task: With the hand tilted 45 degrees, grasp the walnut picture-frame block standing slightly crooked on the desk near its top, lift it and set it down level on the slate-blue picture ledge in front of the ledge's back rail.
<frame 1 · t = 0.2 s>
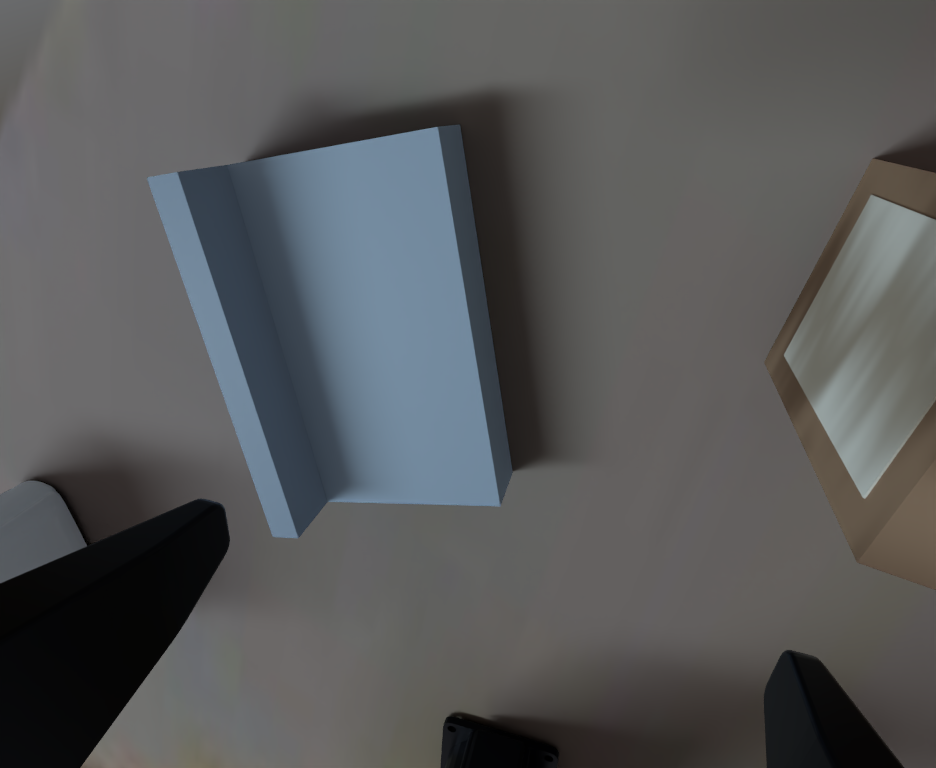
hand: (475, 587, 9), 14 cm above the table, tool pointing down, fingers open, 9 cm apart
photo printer: (73, 545, 37), on the table
picture shelf: (384, 326, 24), on the table
frame block: (876, 287, 19), on the table
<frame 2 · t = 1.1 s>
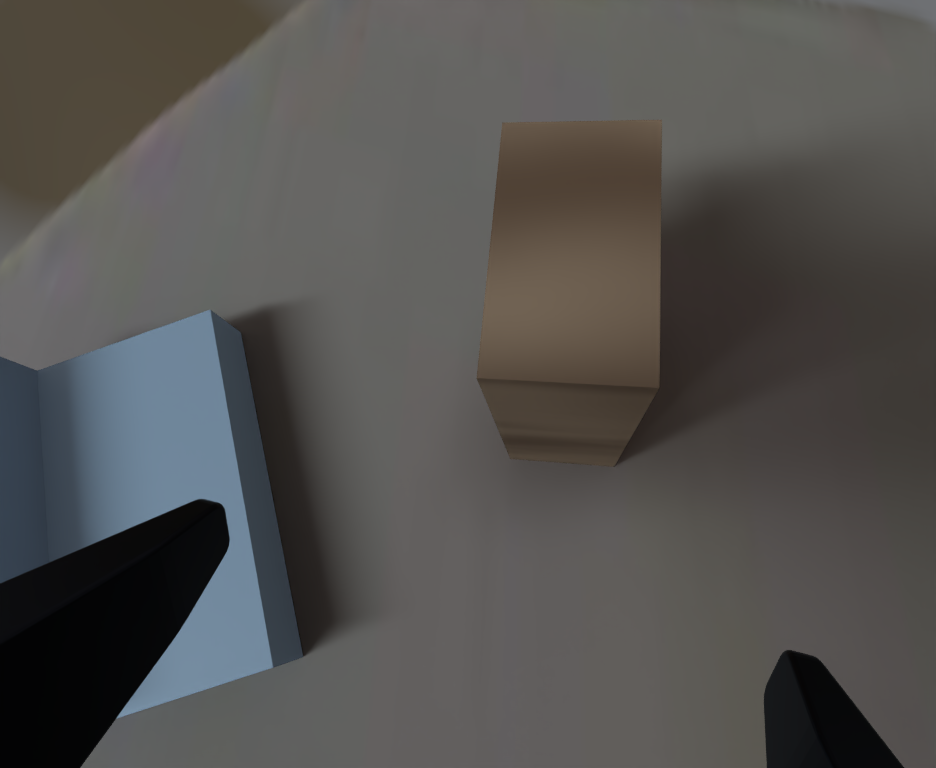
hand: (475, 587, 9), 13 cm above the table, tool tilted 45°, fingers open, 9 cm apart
picture shelf: (168, 513, 25), on the table
frame block: (566, 377, 24), on the table
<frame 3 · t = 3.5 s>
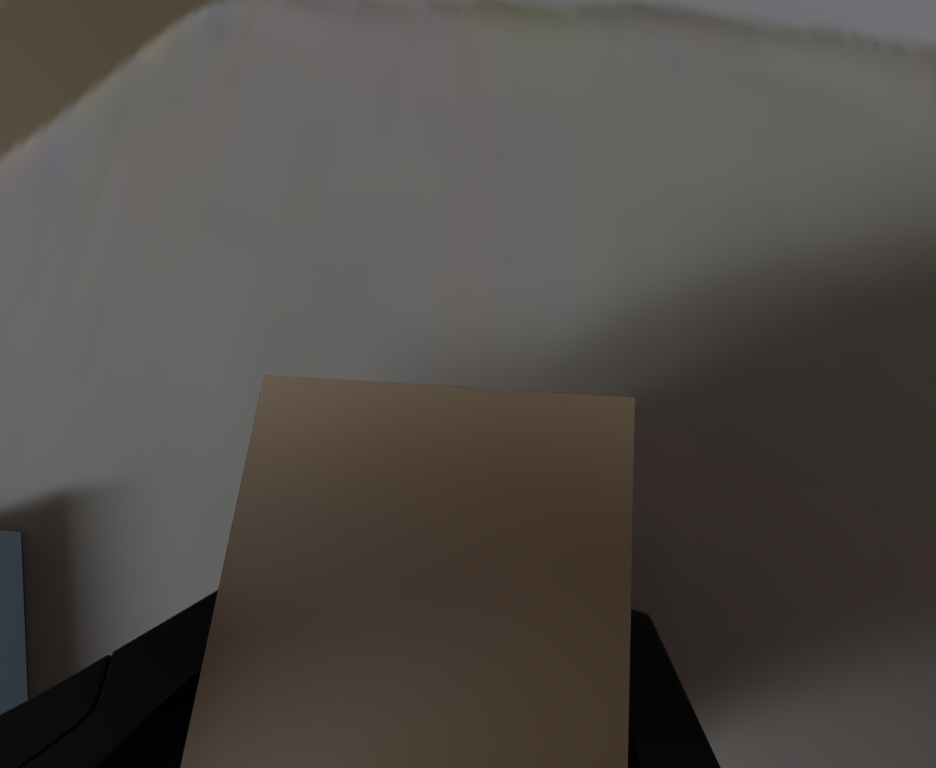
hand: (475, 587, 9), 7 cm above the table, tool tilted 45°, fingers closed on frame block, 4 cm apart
frame block: (495, 637, 15), on the table, touching gripper
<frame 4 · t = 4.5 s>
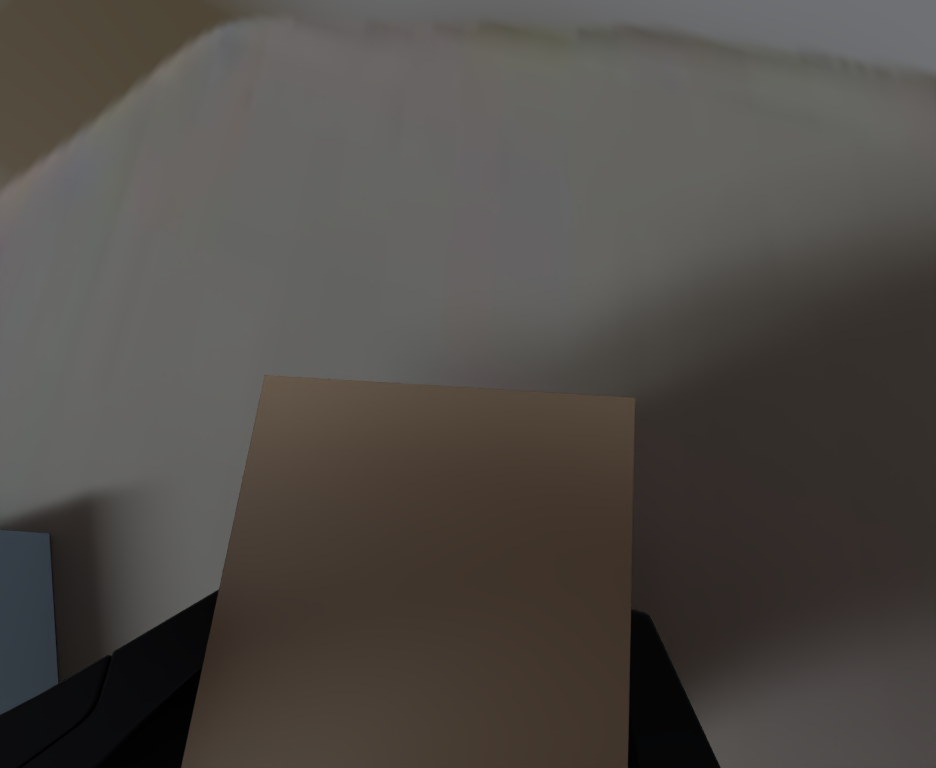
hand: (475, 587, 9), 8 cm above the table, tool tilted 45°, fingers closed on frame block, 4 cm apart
frame block: (495, 637, 15), point 1 cm above the table, touching gripper
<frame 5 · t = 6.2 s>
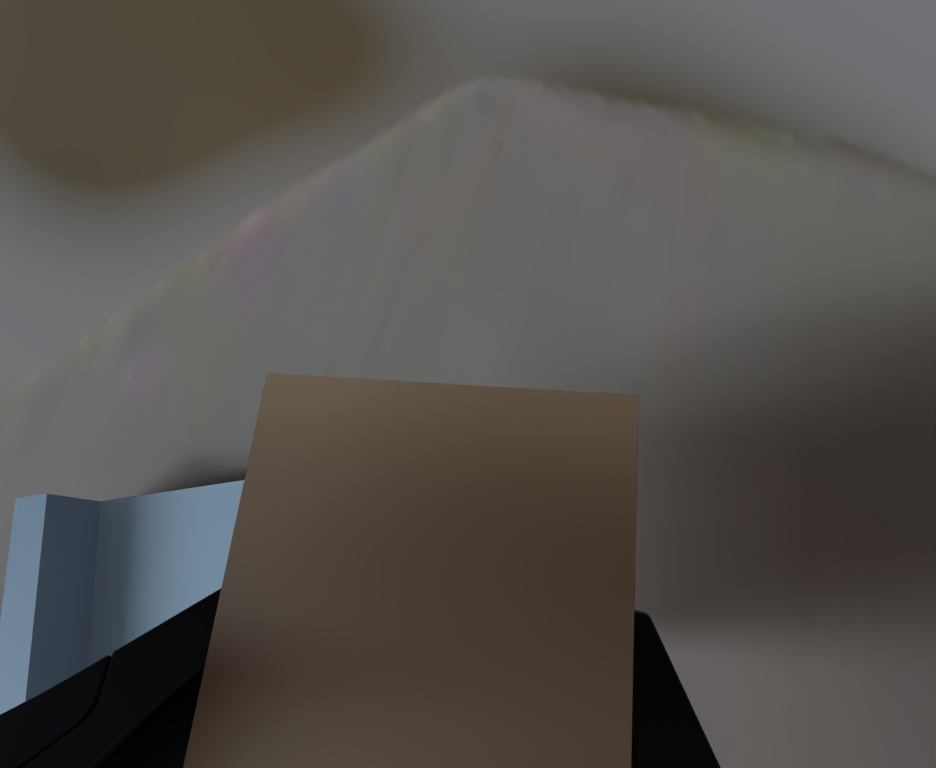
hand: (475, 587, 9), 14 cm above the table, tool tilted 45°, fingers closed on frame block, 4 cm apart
picture shelf: (213, 681, 22), on the table
frame block: (496, 636, 15), point 7 cm above the table, touching gripper
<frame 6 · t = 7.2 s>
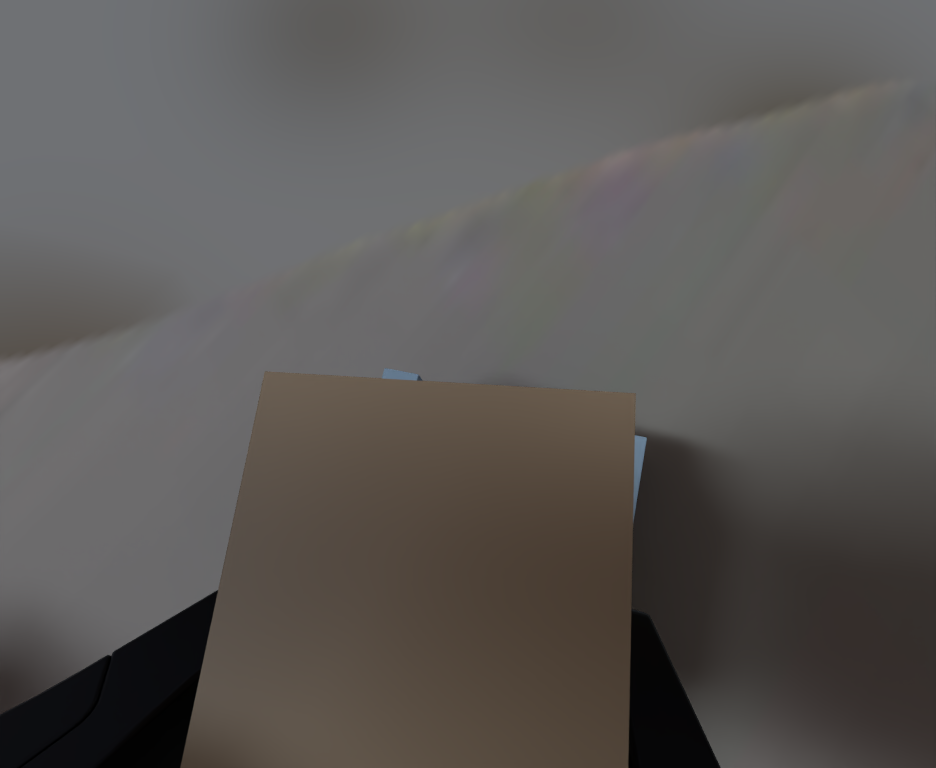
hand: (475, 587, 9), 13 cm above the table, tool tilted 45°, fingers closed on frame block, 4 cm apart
picture shelf: (484, 608, 22), on the table
frame block: (495, 636, 15), point 7 cm above the table, touching gripper
when the fingers open (10 cm above the table, at t = 8.3 s): frame block stays where it is, resting on picture shelf.
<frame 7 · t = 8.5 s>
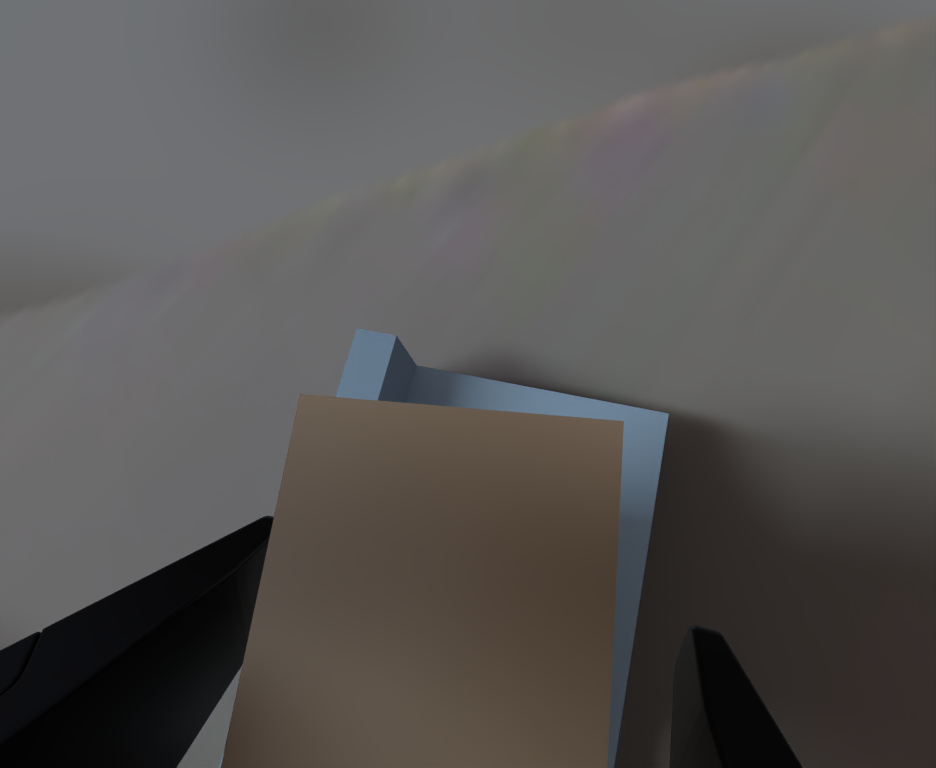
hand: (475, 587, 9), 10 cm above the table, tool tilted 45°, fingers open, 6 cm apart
picture shelf: (475, 615, 19), on the table
frame block: (500, 632, 16), point 2 cm above the table, touching picture shelf
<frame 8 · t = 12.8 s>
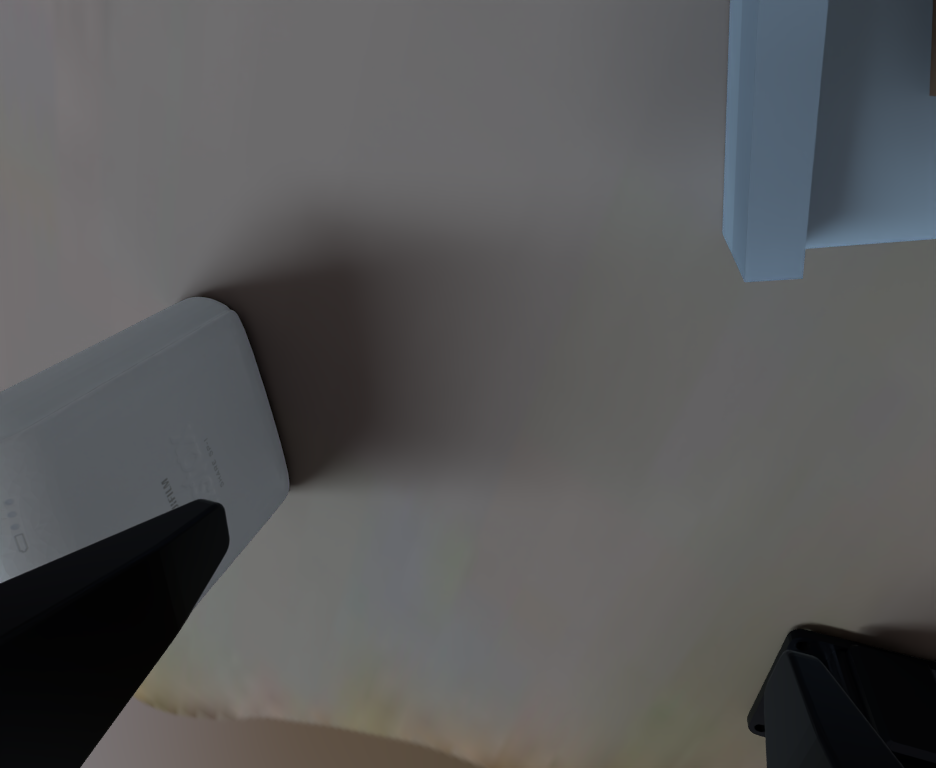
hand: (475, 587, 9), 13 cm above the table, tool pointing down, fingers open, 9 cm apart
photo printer: (240, 401, 27), on the table
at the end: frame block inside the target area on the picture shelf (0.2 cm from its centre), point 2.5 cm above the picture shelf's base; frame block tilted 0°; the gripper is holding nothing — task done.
